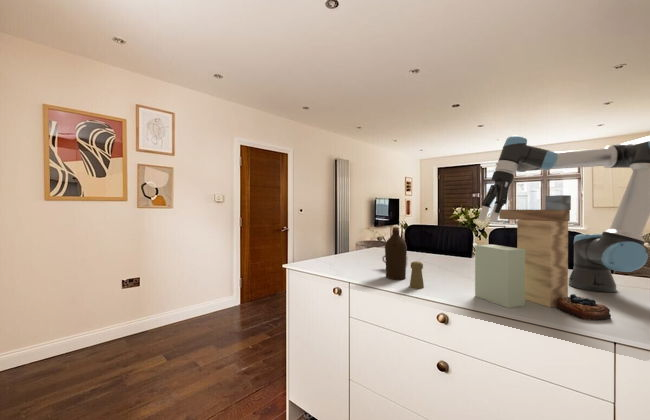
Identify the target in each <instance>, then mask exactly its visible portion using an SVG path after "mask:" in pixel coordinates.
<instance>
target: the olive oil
mask: <svg viewBox="0 0 650 420" xmlns="http://www.w3.org/2000/svg"><path fill="white" fill-rule="evenodd" d="M391 231H392V232H391V233H392V234H391V236H390V237H389V238H388V239H387V240H386V241H385V245H384V255H385V257H384V260H385V261H386V263H385V278H387V279H388V280H392V281H401V280H402V281H403V280H405V279H406V274H407V272H406V271H407V269H406V268H407V267H406V256H408V255H407V251H408V246H407V243H406V241H405V240H404V238H402V236H401V235H400V227H398V226H396V227H395V226H394V227H392V230H391Z"/></svg>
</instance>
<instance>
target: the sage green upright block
mask: <svg viewBox="0 0 650 420" xmlns="http://www.w3.org/2000/svg"><path fill="white" fill-rule="evenodd" d="M474 248H475V249H474V254H475V255H474V259H475V261H474V265H475V266H474V270H475V271H474V296H475V297H477V298H479V299H482V300H485V301H488V302H491V303H494V304H497V305H499V306H502V307H503V308H507V309H510V308H516V307H517V308H518V307H524V306H526V300H525V249H520V248H517V247H512V246H505V245H498V244H492V243H491V244H475V245H474Z"/></svg>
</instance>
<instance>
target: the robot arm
mask: <svg viewBox="0 0 650 420" xmlns="http://www.w3.org/2000/svg"><path fill="white" fill-rule="evenodd" d="M495 166H496V167H495V169H494V172H493V173H492V177H491V181H492V182H494V184H491V185H490V187H489V189H488V191H487V193H486V195H485V197H484V198H483V201H482V202H481V205H482V206H481V209H480V213H479V215H478V218H477V220H478V221H482V222H486V219H487V215H488V214H489V210H490V209H491V205H492V203H493V201H494V200H495V199H496V200H495V201H494V203H493V204H494V205H493V207H492V210H491V213H490V216H489V218H488V220H489V221H492V222H496V223H498V219H499V214H500V212H501V209H502V208H503V207H504V205H507V202H508V196H509V190H510V189H509V188H510V185H511V184H512V183H513V181H514V178H515V176H514V175H515V174H516V173H525V172H528V171H529V172H531V171H541V170H542V171H545V170H546V171H549V170H560V169H561V170H562V169H574V168H589V167H590V168H593V167H594V168H595V167H604V168H606V169H610V168H611V169H612V168H613V169H617V168H618V169H620V168H622V169H623V168H624V169H625V168H626V169H627V168H628V169H631V170H632V173H631V176H630V179H629V181H628V182H627V186H626V187H625V190H624V193H623V195H622V198H621V201H620V204H619V205H618V208H617V210H616V212H615V215H614V218H613V219H612V223H611V225H610V228H609V229H607V230H603V231H602V233H601V234H600V233H599V234H597V233H596V234H595V233H593V234H592V233H589V234H585V233H584V234H583V233H582V234H576V235H575V236H574V237H573V238H574V239H573V269H572V271H571V273H570V275H569V276H568V286H571V287H573V288H577V289H581V290H585V291H593V292H601V293H602V292H603V293H614V292H617V283H616V282H615V279H614V276H613V273H612V271H613V272H615V271H616V272H621V273H630V272H635V271H637V270H640V269H641V268H642V267H643V266H645V264H646V263H647V261H648V257H649V256H648V255H649V254H648V252H647V251H646V248H645V247H644V246H645V242H646V241H645V239H644V238H643V237H642V234H643V232H644V230H645V228H646V225H647V222H648V221H649V218H650V135H648V136H643V137H640V138H636V139H633V140H630V141H626V142H623V143H617V144H611V145H610V144H608V145H606V146H604V147H602V148H591V149H589V148H587V149H578V150H577V149H576V150H564V151H552V150H549V149H545V148H541V147H537V146H536V147H535V146H532V145H529V144H528V139H527V138H526V137H523V136H520V135H510V136H508V137H507V138H506V140H505V142H504V145H503V146H502V150H501V152H500V155H499V158H498V161H497V162H496V163H495ZM611 270H612V271H611Z"/></svg>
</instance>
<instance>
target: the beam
mask: <svg viewBox="0 0 650 420" xmlns="http://www.w3.org/2000/svg"><path fill="white" fill-rule="evenodd" d="M571 202H572V196H571V195H568V194H567V195H563V194H561V195H559V194H558V195H556V194H555V195H545V205H544V206H545V209H510V208H509V209H501V212H500V214H499V217H498V219H499V220H515V221H516V220H538V221H568V222H570V218H571V214H570V213H571V211H570V210H571V209H572V203H571Z"/></svg>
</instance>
